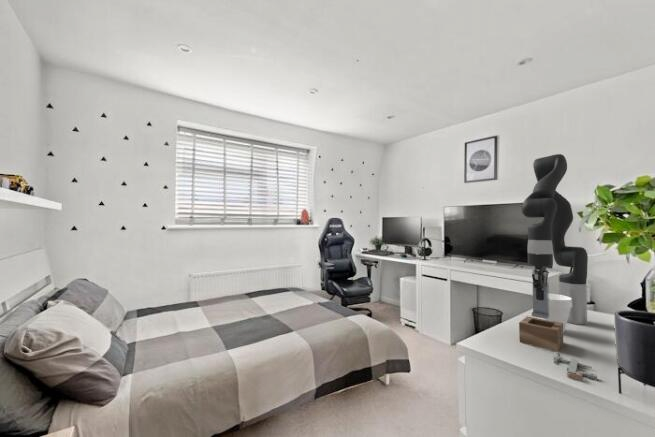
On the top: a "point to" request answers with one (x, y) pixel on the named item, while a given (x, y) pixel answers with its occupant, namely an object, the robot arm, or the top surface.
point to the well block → (541, 333)
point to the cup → (559, 309)
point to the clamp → (572, 371)
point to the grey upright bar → (541, 303)
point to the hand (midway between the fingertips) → (540, 299)
